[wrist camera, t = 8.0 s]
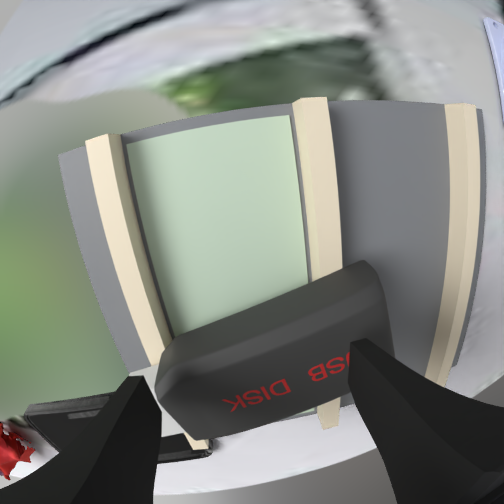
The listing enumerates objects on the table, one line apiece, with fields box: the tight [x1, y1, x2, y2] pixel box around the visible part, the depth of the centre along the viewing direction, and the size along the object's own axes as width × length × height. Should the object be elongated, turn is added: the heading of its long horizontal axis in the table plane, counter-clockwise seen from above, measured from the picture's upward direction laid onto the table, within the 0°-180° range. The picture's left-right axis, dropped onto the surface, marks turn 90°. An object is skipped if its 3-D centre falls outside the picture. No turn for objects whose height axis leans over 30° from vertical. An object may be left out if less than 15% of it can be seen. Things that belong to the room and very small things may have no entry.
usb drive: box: [129, 260, 395, 441], centre depth 12 cm, size 5×12×3 cm, turn 113°
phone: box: [24, 391, 213, 464], centre depth 18 cm, size 8×1×15 cm
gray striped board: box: [58, 97, 486, 450], centre depth 14 cm, size 22×18×2 cm
